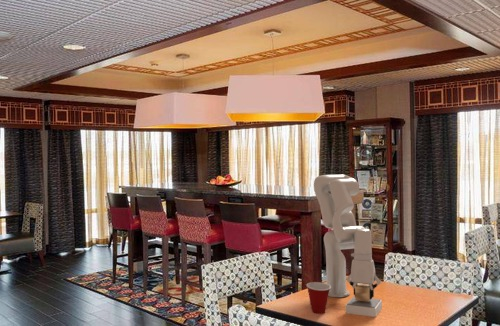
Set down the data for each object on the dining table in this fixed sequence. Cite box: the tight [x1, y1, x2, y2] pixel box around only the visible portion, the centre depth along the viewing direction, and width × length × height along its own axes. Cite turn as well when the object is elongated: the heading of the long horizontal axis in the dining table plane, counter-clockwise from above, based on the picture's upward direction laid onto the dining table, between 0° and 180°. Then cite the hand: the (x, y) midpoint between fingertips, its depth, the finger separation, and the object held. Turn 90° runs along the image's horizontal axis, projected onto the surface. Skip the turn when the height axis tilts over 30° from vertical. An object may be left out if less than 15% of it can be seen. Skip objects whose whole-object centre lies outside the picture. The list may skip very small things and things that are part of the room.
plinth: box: [344, 296, 383, 318], centre depth 213 cm, size 13×13×4 cm
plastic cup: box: [305, 281, 331, 315], centre depth 212 cm, size 11×11×12 cm
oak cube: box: [354, 283, 371, 302], centre depth 213 cm, size 6×6×6 cm
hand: (363, 297), depth 213 cm, fingers closed on oak cube, 5 cm apart
